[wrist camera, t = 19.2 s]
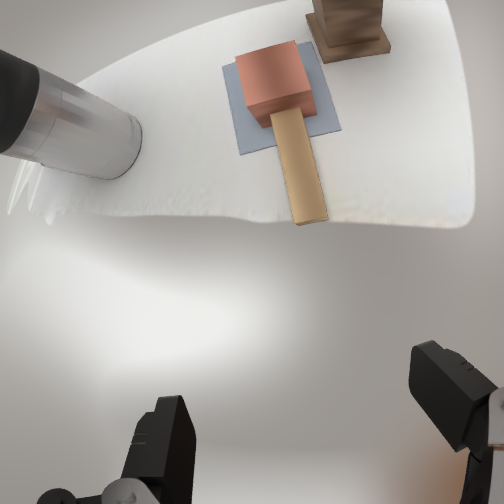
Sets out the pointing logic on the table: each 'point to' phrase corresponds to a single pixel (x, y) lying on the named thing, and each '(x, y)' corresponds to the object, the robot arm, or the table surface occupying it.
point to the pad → (261, 138)
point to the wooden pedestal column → (348, 29)
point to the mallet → (286, 121)
